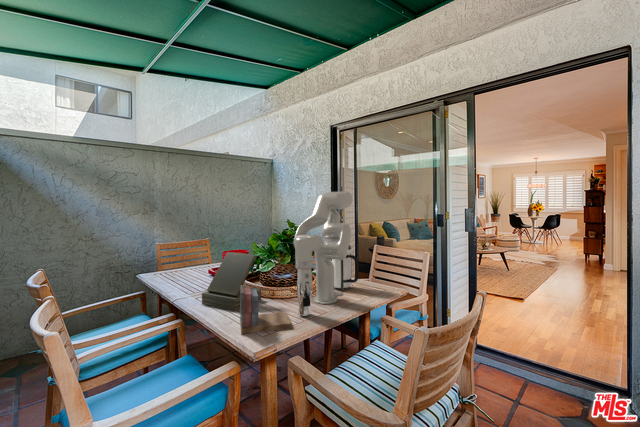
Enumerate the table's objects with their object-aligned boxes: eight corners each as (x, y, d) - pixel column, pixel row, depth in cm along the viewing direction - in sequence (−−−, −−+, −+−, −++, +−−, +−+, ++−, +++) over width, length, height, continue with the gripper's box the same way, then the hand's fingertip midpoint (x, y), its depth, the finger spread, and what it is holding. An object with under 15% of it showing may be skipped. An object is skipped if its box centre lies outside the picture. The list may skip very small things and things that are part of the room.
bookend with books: (285, 315, 135) (285, 280, 135) (291, 327, 122) (291, 289, 122) (240, 321, 130) (239, 284, 129) (241, 334, 116) (240, 293, 116)
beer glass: (304, 309, 141) (303, 277, 140) (315, 312, 136) (315, 280, 135) (294, 313, 135) (293, 281, 134) (305, 317, 131) (304, 283, 130)
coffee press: (328, 292, 171) (328, 240, 170) (328, 284, 187) (328, 237, 186) (358, 292, 171) (358, 240, 170) (356, 285, 187) (356, 237, 186)
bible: (201, 304, 152) (200, 256, 152) (230, 294, 170) (229, 250, 169) (235, 312, 142) (234, 260, 141) (261, 300, 159) (261, 253, 158)
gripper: (317, 268, 127) (318, 309, 128) (307, 260, 144) (308, 296, 145) (300, 269, 125) (301, 311, 126) (291, 261, 142) (292, 298, 143)
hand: (304, 303), depth 135 cm, fingers closed on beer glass, 6 cm apart
